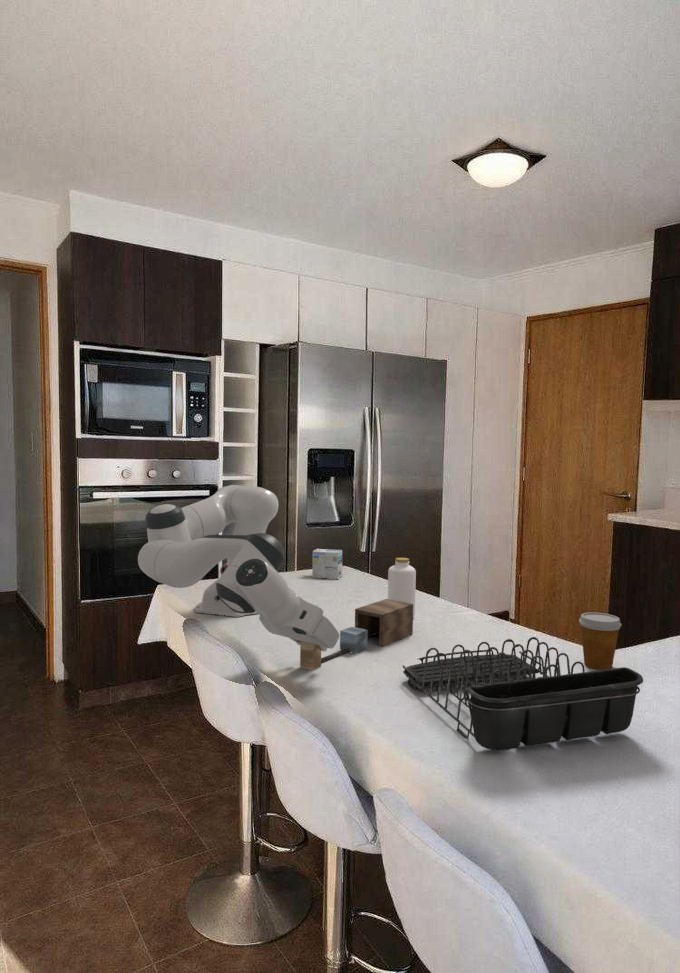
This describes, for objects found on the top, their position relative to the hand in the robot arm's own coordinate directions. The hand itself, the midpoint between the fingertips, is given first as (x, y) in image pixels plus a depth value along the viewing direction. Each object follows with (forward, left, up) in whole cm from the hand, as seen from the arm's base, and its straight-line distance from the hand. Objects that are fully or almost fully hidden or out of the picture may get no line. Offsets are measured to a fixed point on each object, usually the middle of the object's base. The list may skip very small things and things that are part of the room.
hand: (313, 645), depth 158 cm
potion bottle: (+19, +48, -5) cm, 52 cm away
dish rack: (+42, -17, -5) cm, 46 cm away
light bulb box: (-12, +102, -5) cm, 103 cm away
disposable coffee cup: (+68, +12, -5) cm, 69 cm away
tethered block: (+4, +7, -5) cm, 9 cm away
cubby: (+15, +26, -5) cm, 30 cm away
